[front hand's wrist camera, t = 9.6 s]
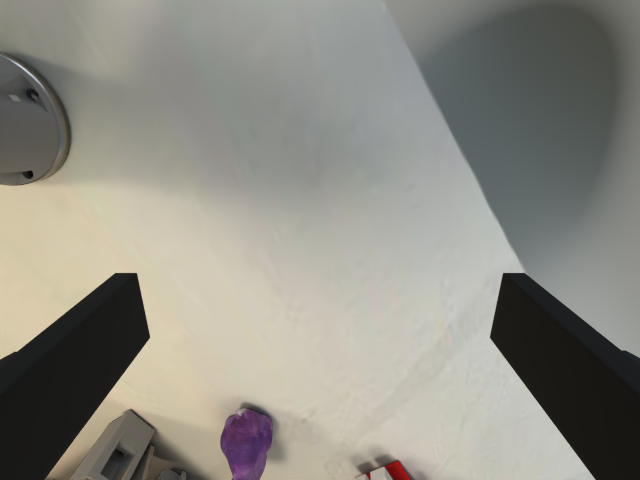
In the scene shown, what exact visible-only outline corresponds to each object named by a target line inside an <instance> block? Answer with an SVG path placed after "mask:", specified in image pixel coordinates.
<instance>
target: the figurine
mask: <svg viewBox="0 0 640 480" xmlns="http://www.w3.org/2000/svg"><path fill="white" fill-rule="evenodd" d="M272 433H273V429H272V421H271V419H270V418H269V417H268V416H266V415H262V414H260V413H258V412H255V411H253V410H250V409H247V408H241V409H238V410H237V411H236V414H235V415H234V416H232V417H229V418H228V419H227V420H226V423H225V427H224V430H223V432H222V435H221V440H220V445H221V450H222V452H223V453H224V455H225V456H226V458H227V460H228V463H229V466H230V469H231V472H232V475H233V478H232V480H260V477H261V475H262V473H263V471H264V468H265V465H266V452H267V451H268V450H269V448H270V446H271V442H272Z"/></svg>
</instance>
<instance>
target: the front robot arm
mask: <svg viewBox="0 0 640 480" xmlns="http://www.w3.org/2000/svg"><path fill="white" fill-rule="evenodd" d="M69 145H70V129H69V123H68V119H67V115H66V112H65V110H64V107H63V105H62V103H61V101H60V99H59V98H58V96H57V94H56V93H55V91H54V90H53V89H52V87H51V86H50V85H49V84H48V82H47V81H46V80H45V79H44V78H43V77H42V76H41V75H40V74H39V73H38V72H36V71H35V70H34V69H33V68H31V67H30V66H29V65H27V64H25V63H24V62H22V61H20V60H18V59H17V58H15V57H12V56H10V55H7V54H4V53H0V184H1V185H24V184H29V183H33V182H37V181H40V180H43V179H45V178H47V177H49V176H51V175H52V174H54V173H55V172H56V171H57V170H58V169H59V168H60V167H61V165H62V164H63V162H64V160H65V159H66V156H67V154H68V150H69ZM149 338H150V334H149V330H148V325H147V320H146V315H145V310H144V305H143V301H142V296H141V291H140V286H139V281H138V276H137V273H115V274H114V275H112V276H111V277H110V278H109V279H107V280H106V281H105V282H104V283H102V284H101V285H100V286H99V287H97V288H96V289H95V290H94V291H92V292H91V293H90V294H89V295H88V296H86V297H85V298H84V299H83V300H81V301H80V302H79V303H78V304H76V305H75V306H74V307H73V308H71V309H70V310H69V311H68V312H66V313H65V314H64V315H63V316H61V317H60V318H59V319H58V320H56V321H55V322H54V323H53V324H51V325H50V326H49V327H48V328H46V329H45V330H44V331H43V332H41V333H40V334H39V335H38V336H36V337H35V338H34V339H33V340H31V341H30V342H29V343H28V344H26V345H25V346H24V347H23V348H21V349H20V350H19V351H18V352H14V353H12V354H10V355H8V356H6V357H4V358H2V359H1V360H0V480H44V479H45V478H46V477H47V475H48V474H49V473H50V471H51V470H52V469H53V467H54V466H55V465H56V463H57V462H58V461H59V459H60V458H61V457H62V455H63V454H64V453H65V451H66V450H67V449H68V447H69V446H70V445H71V443H72V442H73V440H74V439H75V438H76V436H77V435H78V434H79V432H80V431H81V430H82V428H83V427H84V426H85V424H86V423H87V422H88V420H89V419H90V418H91V416H92V415H93V414H94V412H95V411H96V410H97V408H98V407H99V406H100V404H101V403H102V401H103V400H104V399H105V397H106V396H107V395H108V393H109V392H110V391H111V389H112V388H113V387H114V385H115V384H116V383H117V381H118V380H119V379H120V377H121V376H122V375H123V373H124V372H125V371H126V369H127V368H128V367H129V365H130V364H131V363H132V361H133V360H134V358H135V357H136V356H137V354H138V353H139V352H140V350H141V349H142V348H143V346H144V345H145V344H146V342H147V341H148V340H149ZM490 338H491V340H492V341H493V342H494V344H495V345H496V346H497V348H498V349H499V350H500V352H501V353H502V354H503V356H504V357H505V358H506V360H507V361H508V363H509V364H510V365H511V367H512V368H513V369H514V371H515V372H516V373H517V375H518V376H519V377H520V379H521V380H522V381H523V383H524V384H525V385H526V387H527V388H528V389H529V391H530V392H531V393H532V395H533V396H534V397H535V399H536V400H537V401H538V403H539V404H540V406H541V407H542V408H543V410H544V411H545V412H546V414H547V415H548V416H549V418H550V419H551V420H552V422H553V423H554V424H555V426H556V427H557V428H558V430H559V431H560V432H561V434H562V435H563V436H564V438H565V439H566V440H567V442H568V443H569V445H570V446H571V447H572V449H573V450H574V451H575V453H576V454H577V455H578V457H579V458H580V459H581V461H582V462H583V463H584V465H585V466H586V467H587V469H588V470H589V471H590V473H591V474H592V475H593V477H594V478H595V479H596V480H640V358H639V357H637V356H635V355H633V354H631V353H629V352H627V351H621V350H620V349H619V348H617V347H616V346H615V345H614V344H612V343H611V342H610V341H609V340H607V339H606V338H605V337H604V336H602V335H601V334H600V333H599V332H597V331H596V330H595V329H594V328H592V327H591V326H590V325H589V324H587V323H586V322H585V321H584V320H582V319H581V318H580V317H579V316H577V315H576V314H575V313H574V312H572V311H571V310H570V309H569V308H567V307H566V306H565V305H564V304H562V303H561V302H560V301H559V300H557V299H556V298H555V297H554V296H552V295H551V294H550V293H549V292H548V291H546V290H545V289H544V288H543V287H541V286H540V285H539V284H537V283H536V282H535V281H534V280H533V279H531V278H530V277H529V276H528V275H526V274H525V273H503V276H502V281H501V286H500V291H499V296H498V301H497V305H496V310H495V315H494V320H493V325H492V330H491V334H490Z"/></svg>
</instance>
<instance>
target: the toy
mask: <svg viewBox="0 0 640 480" xmlns="http://www.w3.org/2000/svg"><path fill="white" fill-rule="evenodd" d="M352 480H410V479H409V477H408V475H407V474H406V472H405V471H404V469H403V468H402V466H401V465H400V463H399V462H398V461H396V462H394V463H391V464H389V465H387V466H384V467H381V468H379V469H376V470H374V471H371V472H370V473H368V474H364V475H361V476H359V477H356V478H354V479H352Z"/></svg>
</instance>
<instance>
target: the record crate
mask: <svg viewBox="0 0 640 480" xmlns="http://www.w3.org/2000/svg"><path fill="white" fill-rule="evenodd" d="M124 413H127V414H125V415H123V416H121V417H120V418H118V419H116V420H114V421H113V422H111V423H109V425H108V426H107V427H106V429H105V430H104V432H103V433H102V434H101V436H100V437H99V439H98V440H97V441H96V443H95V444H94V446H93V447H92V448H91V450H90V451H89V453H88V454H87V455H86V457H85V458H84V460H83V461H82V462H81V464H80V465H79V467H78V468H77V469H76V471H75V472H74V474H73V475H72V476H71V478H70V479H69V480H146V478H147V475H148V471H149V467H150V464H151V460H152V457H153V453H154V449H155V447H154V446H152V445H150V447H149V449H148V450H147V451H146V450H145V449H146V447H147V445H148V444H149V442H150V440H151V438H152V436H153V434H154V432H155V430H154V429H152V428H151V427H150V426H149V425H147V424H146V423H145V422H144V421H142V420H141V419H140V418H139V417H137V416H136V415H135V414H134V413H133V412H132V411H130V410H129V411H127V412H124ZM186 474H187V473H186V472H184V471H182V473H181V475H178V474H177V473H175V472H174V471H172V470H171V469H169V468H167V469H165V470H163V471H162V472H161V473H160V476H159V478H158V480H186Z"/></svg>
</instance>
